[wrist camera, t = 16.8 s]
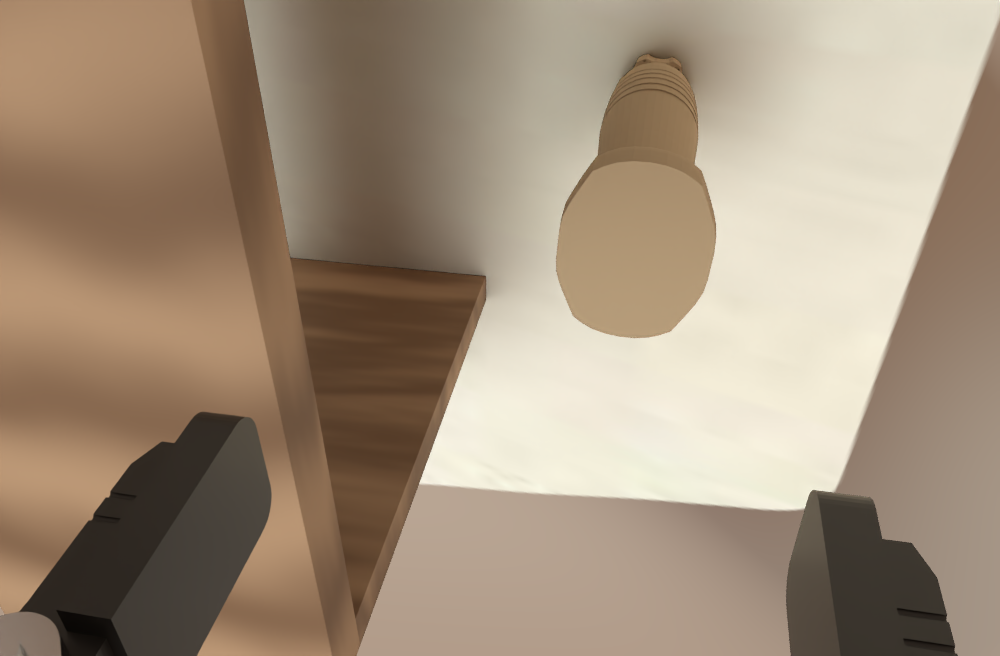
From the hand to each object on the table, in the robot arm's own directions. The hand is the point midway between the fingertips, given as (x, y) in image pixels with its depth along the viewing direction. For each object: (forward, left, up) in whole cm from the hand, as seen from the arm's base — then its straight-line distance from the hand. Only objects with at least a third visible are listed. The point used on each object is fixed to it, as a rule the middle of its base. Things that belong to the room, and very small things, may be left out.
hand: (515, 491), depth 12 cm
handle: (+5, +1, -30) cm, 31 cm away
